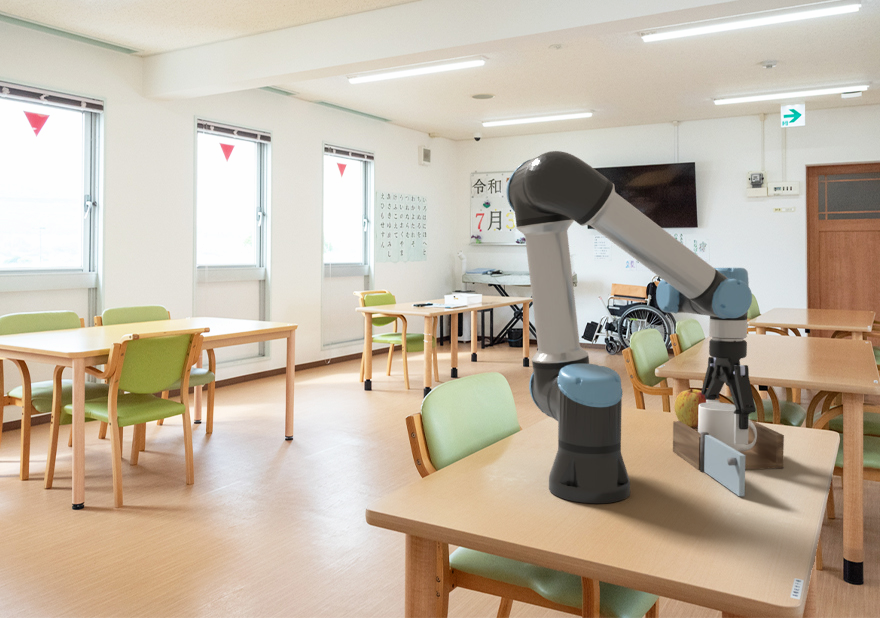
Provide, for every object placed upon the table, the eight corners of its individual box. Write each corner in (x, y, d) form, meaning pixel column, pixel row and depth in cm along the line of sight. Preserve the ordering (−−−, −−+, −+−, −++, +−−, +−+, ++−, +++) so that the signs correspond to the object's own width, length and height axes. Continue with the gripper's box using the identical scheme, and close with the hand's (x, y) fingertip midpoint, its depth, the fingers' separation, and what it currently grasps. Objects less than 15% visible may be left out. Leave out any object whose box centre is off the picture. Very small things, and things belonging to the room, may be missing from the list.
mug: (750, 465, 144) (752, 414, 143) (692, 455, 151) (693, 407, 150) (761, 455, 150) (762, 407, 150) (704, 447, 158) (705, 400, 157)
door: (698, 471, 142) (699, 435, 141) (708, 471, 142) (709, 434, 142) (732, 496, 127) (733, 455, 127) (744, 496, 127) (745, 455, 127)
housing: (701, 472, 142) (702, 434, 142) (672, 451, 158) (673, 416, 157) (787, 470, 143) (788, 432, 143) (749, 449, 159) (750, 415, 158)
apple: (710, 431, 176) (711, 392, 175) (672, 429, 179) (673, 390, 178) (710, 423, 184) (710, 386, 184) (674, 421, 187) (674, 384, 187)
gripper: (775, 345, 137) (772, 450, 139) (719, 332, 162) (717, 422, 164) (738, 346, 137) (736, 451, 138) (687, 333, 162) (686, 422, 163)
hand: (725, 435), depth 151 cm, fingers open, 13 cm apart
